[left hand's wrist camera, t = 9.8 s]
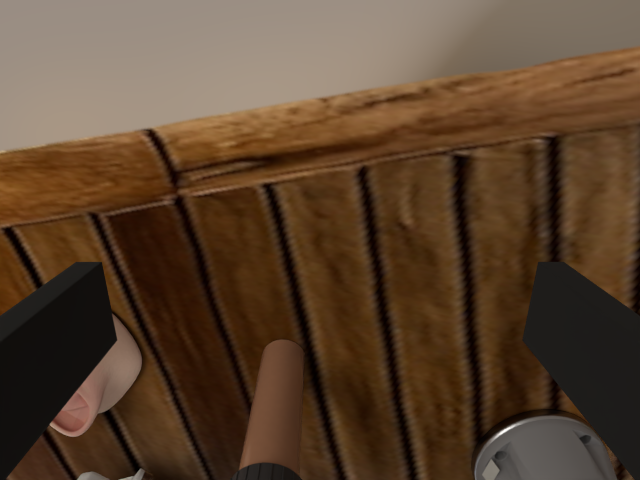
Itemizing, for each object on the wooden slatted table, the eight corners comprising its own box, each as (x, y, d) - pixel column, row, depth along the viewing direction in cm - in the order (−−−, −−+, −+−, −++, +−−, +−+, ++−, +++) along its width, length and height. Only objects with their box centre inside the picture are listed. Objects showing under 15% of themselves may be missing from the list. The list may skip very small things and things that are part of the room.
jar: (305, 339, 44) (297, 488, 28) (304, 375, 45) (297, 534, 29) (261, 338, 44) (228, 487, 28) (262, 374, 45) (232, 534, 29)
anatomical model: (59, 308, 38) (155, 383, 41) (82, 288, 41) (169, 358, 44) (-21, 385, 41) (74, 450, 44) (7, 360, 44) (93, 421, 47)
